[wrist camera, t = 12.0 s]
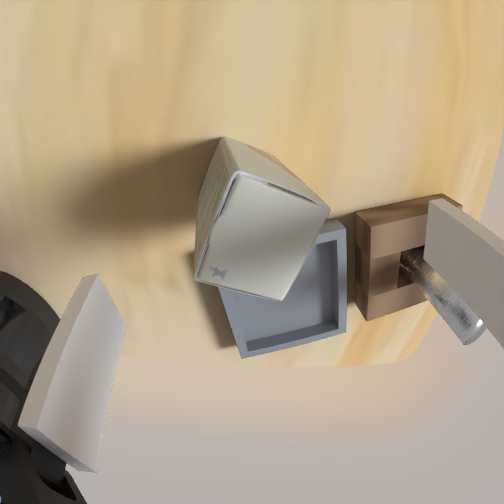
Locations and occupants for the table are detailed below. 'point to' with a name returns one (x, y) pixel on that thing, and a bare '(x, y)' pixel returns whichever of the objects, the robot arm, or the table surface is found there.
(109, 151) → the table surface
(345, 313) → the tray
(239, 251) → the box
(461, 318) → the pin
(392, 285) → the brown block with hole
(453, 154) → the table surface
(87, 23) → the table surface
